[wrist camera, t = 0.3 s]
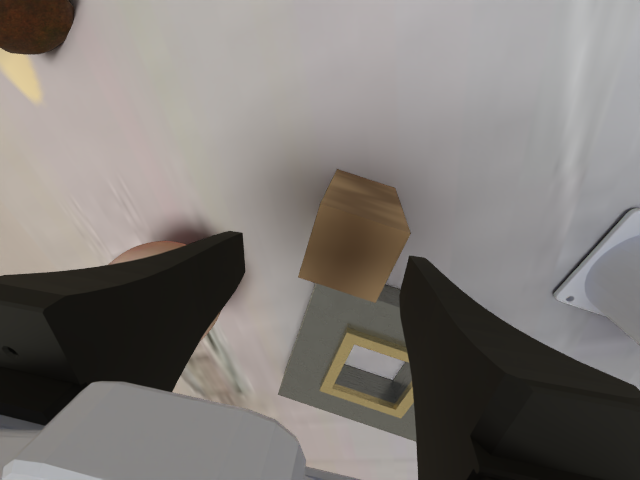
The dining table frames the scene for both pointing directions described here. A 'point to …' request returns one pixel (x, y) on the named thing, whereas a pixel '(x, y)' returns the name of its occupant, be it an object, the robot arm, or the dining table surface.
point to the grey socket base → (332, 351)
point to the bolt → (34, 25)
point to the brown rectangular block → (355, 237)
